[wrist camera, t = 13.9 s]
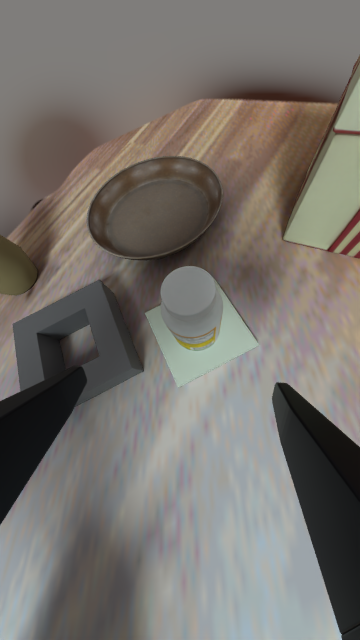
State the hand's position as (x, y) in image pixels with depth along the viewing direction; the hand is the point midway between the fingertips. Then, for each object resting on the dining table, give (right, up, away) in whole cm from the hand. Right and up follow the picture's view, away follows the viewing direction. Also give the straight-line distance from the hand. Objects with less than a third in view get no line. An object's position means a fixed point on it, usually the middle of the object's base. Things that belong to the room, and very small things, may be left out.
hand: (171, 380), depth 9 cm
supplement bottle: (+2, +2, +14) cm, 14 cm away
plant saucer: (-3, +19, +22) cm, 29 cm away
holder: (-12, -1, +15) cm, 19 cm away
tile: (+3, +2, +14) cm, 14 cm away
